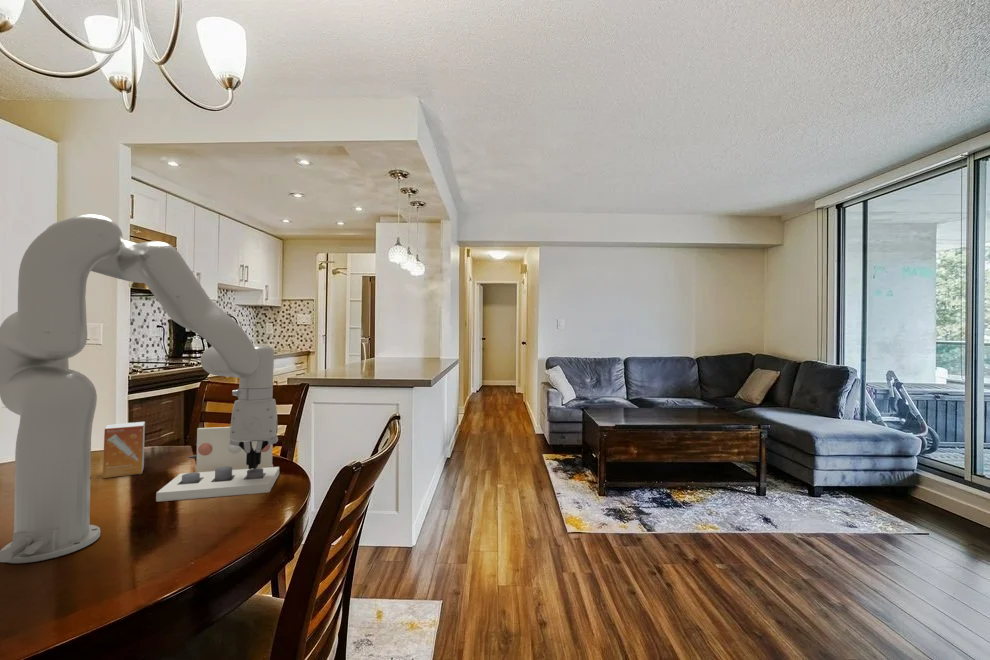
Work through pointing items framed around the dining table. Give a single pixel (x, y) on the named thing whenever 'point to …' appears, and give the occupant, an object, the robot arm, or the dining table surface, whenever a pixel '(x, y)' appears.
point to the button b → (223, 474)
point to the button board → (218, 485)
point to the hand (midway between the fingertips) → (253, 467)
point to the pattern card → (224, 451)
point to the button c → (255, 473)
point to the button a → (191, 478)
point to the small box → (123, 449)
